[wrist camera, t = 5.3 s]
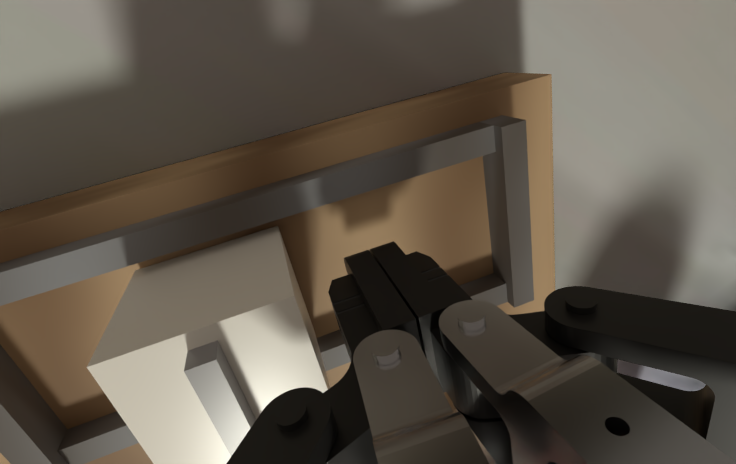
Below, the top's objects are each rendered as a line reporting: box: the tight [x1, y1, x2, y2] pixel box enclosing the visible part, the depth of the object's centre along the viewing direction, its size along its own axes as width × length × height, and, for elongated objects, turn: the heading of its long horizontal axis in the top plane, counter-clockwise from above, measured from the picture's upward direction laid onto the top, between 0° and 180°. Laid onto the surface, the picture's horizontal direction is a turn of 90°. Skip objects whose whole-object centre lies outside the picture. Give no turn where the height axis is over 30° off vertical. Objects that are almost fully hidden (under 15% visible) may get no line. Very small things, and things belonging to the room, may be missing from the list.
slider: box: [87, 226, 330, 464], centre depth 10 cm, size 4×4×5 cm
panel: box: [0, 73, 555, 464], centre depth 16 cm, size 20×20×4 cm
